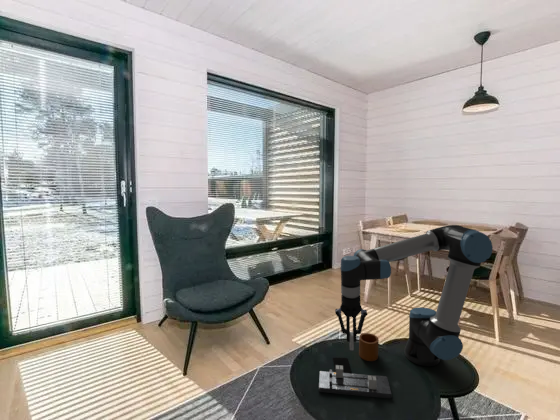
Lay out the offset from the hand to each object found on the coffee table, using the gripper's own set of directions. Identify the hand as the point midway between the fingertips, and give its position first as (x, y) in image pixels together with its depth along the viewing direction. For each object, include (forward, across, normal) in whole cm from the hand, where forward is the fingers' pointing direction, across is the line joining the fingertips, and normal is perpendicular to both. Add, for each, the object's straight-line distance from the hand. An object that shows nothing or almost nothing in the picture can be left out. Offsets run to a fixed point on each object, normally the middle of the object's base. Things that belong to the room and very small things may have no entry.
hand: (351, 348), depth 126 cm
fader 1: (+13, +5, 0) cm, 14 cm away
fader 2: (+13, -7, +5) cm, 16 cm away
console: (+15, 0, +3) cm, 15 cm away
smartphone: (+16, +4, -8) cm, 18 cm away
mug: (+16, -9, -21) cm, 27 cm away
